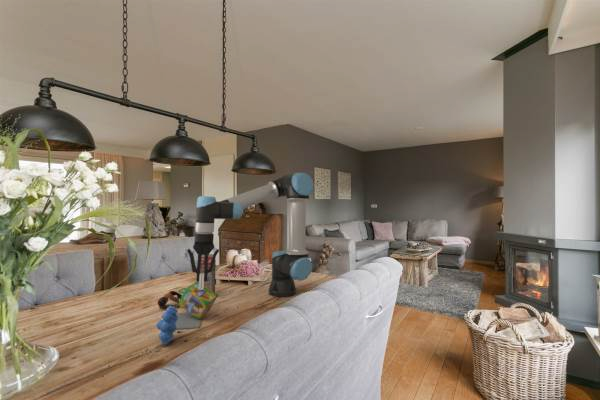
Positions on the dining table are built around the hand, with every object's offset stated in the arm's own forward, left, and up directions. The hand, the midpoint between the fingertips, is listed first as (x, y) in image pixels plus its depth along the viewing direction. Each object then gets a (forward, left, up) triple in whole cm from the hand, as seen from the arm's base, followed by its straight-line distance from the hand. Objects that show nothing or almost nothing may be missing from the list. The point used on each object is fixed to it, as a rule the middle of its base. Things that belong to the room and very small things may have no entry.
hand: (201, 288), depth 122 cm
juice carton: (+1, -33, -13) cm, 35 cm away
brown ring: (+16, -18, -13) cm, 27 cm away
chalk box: (-3, 0, -8) cm, 9 cm away
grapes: (+10, +18, -13) cm, 24 cm away
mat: (+7, 0, -13) cm, 14 cm away
